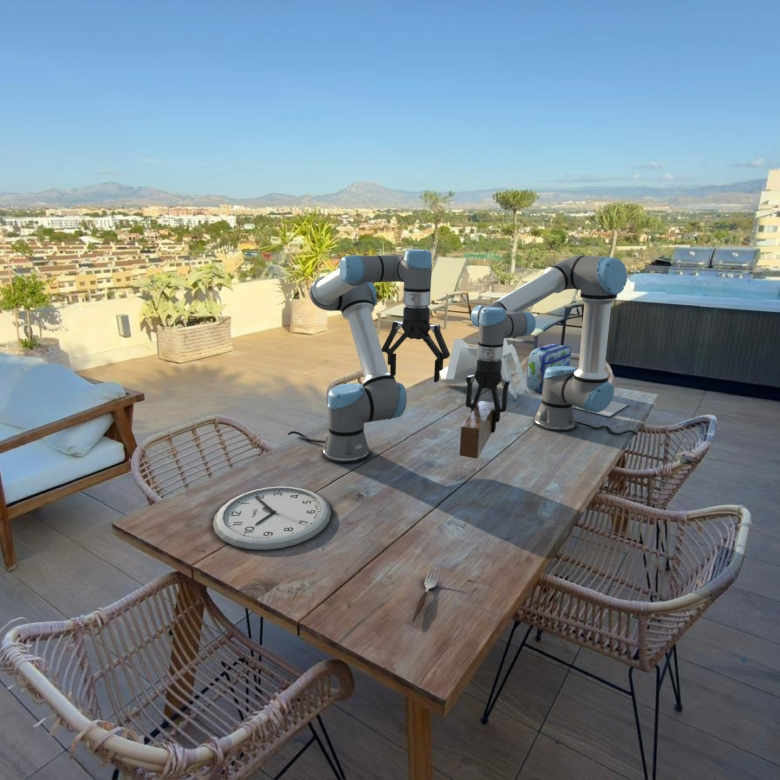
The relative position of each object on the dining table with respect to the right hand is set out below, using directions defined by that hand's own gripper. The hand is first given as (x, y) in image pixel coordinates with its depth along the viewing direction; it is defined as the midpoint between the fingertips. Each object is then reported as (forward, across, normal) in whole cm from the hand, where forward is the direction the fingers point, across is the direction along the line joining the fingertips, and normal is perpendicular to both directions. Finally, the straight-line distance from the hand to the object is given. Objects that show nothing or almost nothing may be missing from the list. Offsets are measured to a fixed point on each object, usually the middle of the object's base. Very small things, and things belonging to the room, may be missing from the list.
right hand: (484, 429), depth 166 cm
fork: (+12, +3, -69) cm, 70 cm away
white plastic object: (+12, -18, +76) cm, 79 cm away
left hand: (-19, -19, -15) cm, 30 cm away
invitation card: (+12, +35, +78) cm, 86 cm away
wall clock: (+12, -43, -54) cm, 70 cm away
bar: (+1, 0, -9) cm, 9 cm away
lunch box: (+12, +11, +96) cm, 97 cm away
